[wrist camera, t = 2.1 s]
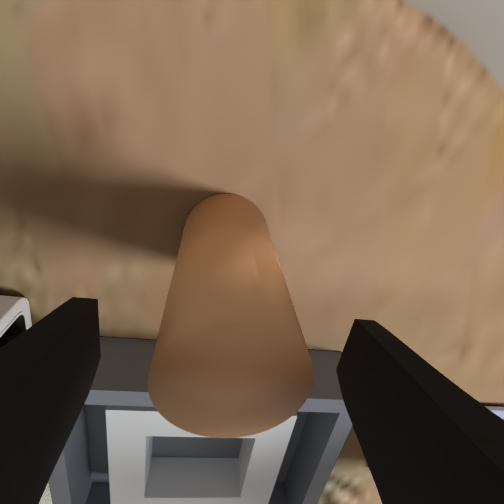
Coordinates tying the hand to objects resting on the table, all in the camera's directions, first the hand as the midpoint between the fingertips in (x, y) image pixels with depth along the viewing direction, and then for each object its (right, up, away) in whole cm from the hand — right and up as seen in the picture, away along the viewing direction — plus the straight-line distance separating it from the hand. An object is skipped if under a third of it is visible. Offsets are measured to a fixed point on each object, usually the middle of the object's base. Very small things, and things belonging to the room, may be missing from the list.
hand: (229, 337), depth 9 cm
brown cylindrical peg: (-1, +3, +7) cm, 7 cm away
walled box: (-3, -9, +13) cm, 16 cm away
